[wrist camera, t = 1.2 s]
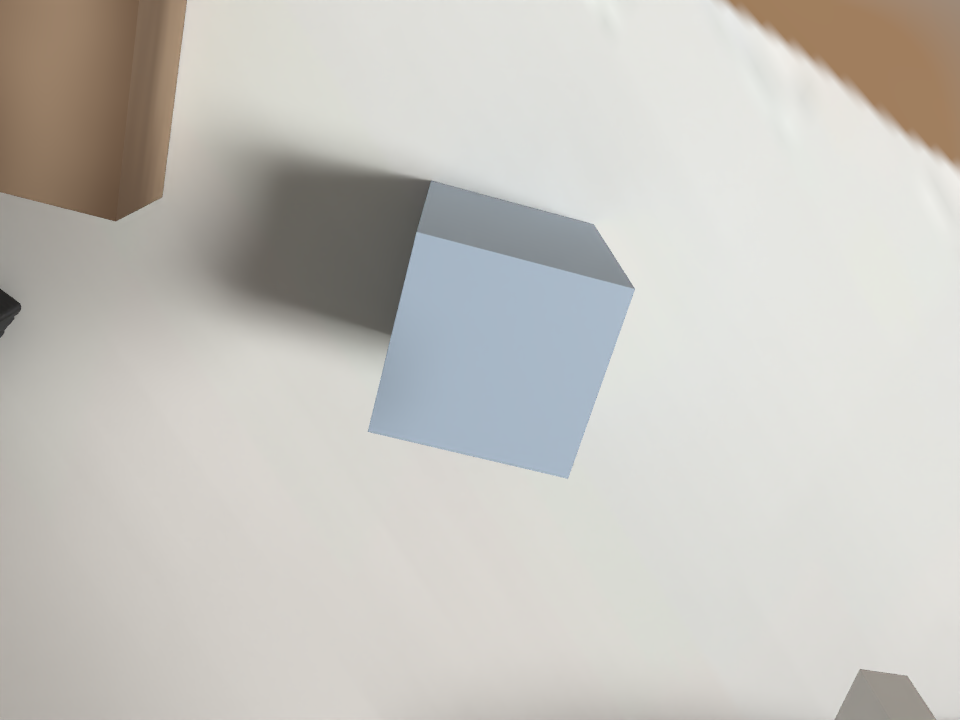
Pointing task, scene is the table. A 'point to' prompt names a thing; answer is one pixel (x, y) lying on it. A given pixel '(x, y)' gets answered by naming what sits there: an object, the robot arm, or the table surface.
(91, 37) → the walnut base
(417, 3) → the table surface
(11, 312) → the disk drive
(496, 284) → the slate block
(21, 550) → the table surface
